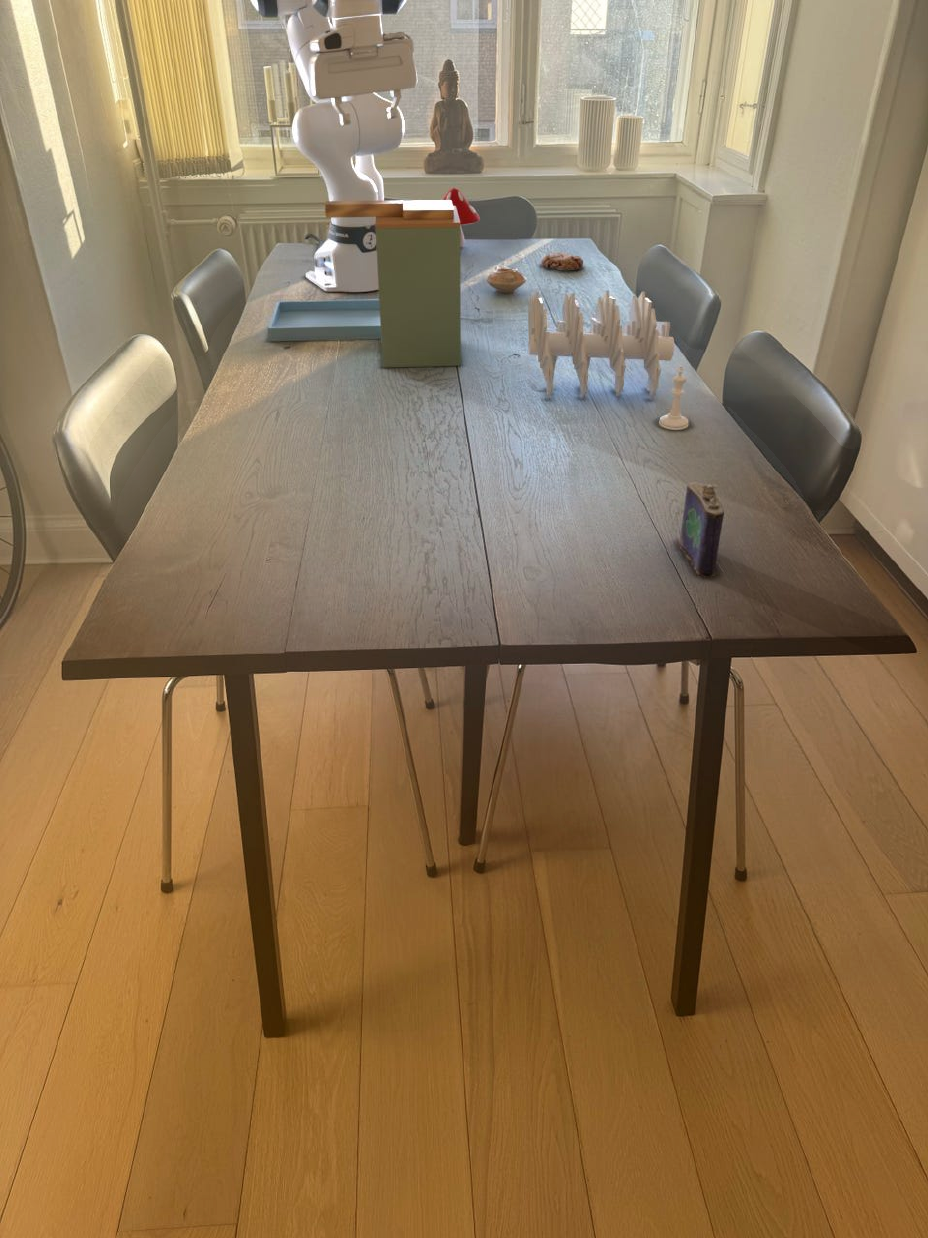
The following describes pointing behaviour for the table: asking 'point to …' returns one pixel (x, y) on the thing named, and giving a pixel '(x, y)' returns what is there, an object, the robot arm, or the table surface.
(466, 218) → the decorative mushroom
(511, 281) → the pottery oil lamp
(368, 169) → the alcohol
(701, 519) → the flask
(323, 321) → the tray
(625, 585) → the table surface
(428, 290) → the plinth
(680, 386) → the chess piece
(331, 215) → the paddle
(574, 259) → the cookie
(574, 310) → the spiral staircase
